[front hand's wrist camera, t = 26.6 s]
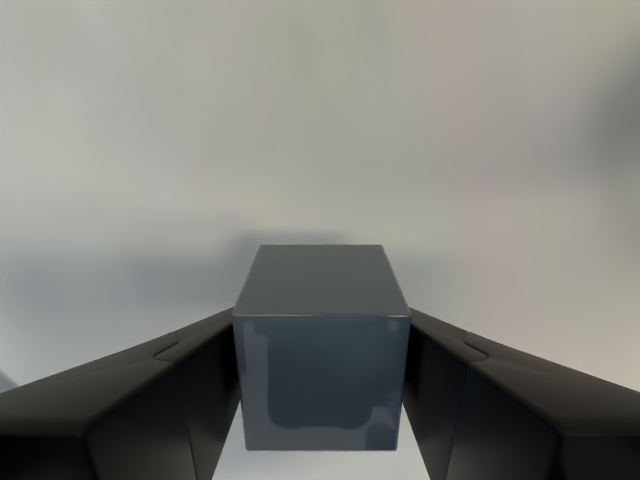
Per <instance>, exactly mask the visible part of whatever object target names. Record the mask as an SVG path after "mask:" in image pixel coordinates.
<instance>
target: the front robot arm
mask: <svg viewBox="0 0 640 480" xmlns="http://www.w3.org/2000/svg"><path fill="white" fill-rule="evenodd" d="M234 308H235V306H234V307H232V308H229V309H227V310H225V311H222V312H220V313H217V314H215V315H213V316H210V317H208V318H205V319H203V320H201V321H198V322H196V323H193V324H191V325H188V326H186V327H184V328H181V329H179V330H176V331H174V332H171V333H168V334H166V335H163V336H161V337H158V338H156V339H153V340H151V341H148V342H145V343H143V344H140V345H137V346H134V347H132V348H129V349H126V350H123V351H120V352H117V353H114V354H112V355H109V356H106V357H103V358H100V359H97V360H94V361H92V362H89V363H86V364H83V365H80V366H77V367H74V368H71V369H69V370H66V371H63V372H60V373H57V374H54V375H51V376H49V377H46V378H43V379H40V380H37V381H34V382H31V383H29V384H26V385H23V386H20V387H17V388H14V389H11V390H9V391H6V392H3V393H0V480H212V477H213V475H214V472H215V469H216V466H217V463H218V461H219V458H220V455H221V452H222V449H223V447H224V444H225V441H226V438H227V435H228V433H229V430H230V427H231V424H232V421H233V418H234V416H235V413H236V410H237V407H238V404H239V402H240V391H239V382H238V372H237V363H236V354H235V344H234V335H233V326H232V317H231V315H232V313H233V310H234ZM408 308H409V310H410V312H411V315H412V318H411V327H410V336H409V345H408V354H407V363H406V372H405V381H404V390H403V399H402V402H403V405H404V408H405V411H406V413H407V416H408V419H409V422H410V425H411V427H412V430H413V433H414V436H415V438H416V441H417V444H418V447H419V449H420V452H421V455H422V458H423V461H424V463H425V466H426V469H427V472H428V474H429V477H430V480H640V392H638V391H635V390H632V389H629V388H626V387H623V386H620V385H617V384H615V383H612V382H609V381H606V380H603V379H600V378H597V377H594V376H592V375H589V374H586V373H583V372H580V371H577V370H574V369H571V368H568V367H566V366H563V365H560V364H557V363H554V362H551V361H548V360H545V359H543V358H540V357H537V356H534V355H531V354H528V353H525V352H522V351H519V350H517V349H514V348H511V347H508V346H505V345H503V344H500V343H497V342H494V341H492V340H489V339H487V338H484V337H481V336H479V335H476V334H474V333H472V332H468V331H466V330H463V329H461V328H458V327H456V326H453V325H451V324H449V323H446V322H444V321H441V320H439V319H436V318H434V317H432V316H429V315H427V314H424V313H422V312H419V311H417V310H415V309H412V308H410V307H408Z"/></svg>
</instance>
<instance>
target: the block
mask: <svg viewBox="0 0 640 480" xmlns="http://www.w3.org/2000/svg"><path fill="white" fill-rule="evenodd" d="M231 317H232V326H233V335H234V344H235V354H236V363H237V372H238V382H239V391H240V400H241V409H242V419H243V428H244V437H245V447H246V450H247V451H249V452H279V451H396V450H397V444H398V435H399V426H400V417H401V408H402V399H403V390H404V381H405V372H406V363H407V354H408V345H409V336H410V327H411V318H412V315H411V312H410V310H409V308H408V305H407V303H406V300H405V298H404V296H403V293H402V291H401V289H400V286H399V284H398V282H397V279H396V277H395V275H394V272H393V270H392V268H391V265H390V263H389V261H388V258H387V256H386V253H385V251H384V249H383V246H382V245H260V247H259V249H258V251H257V254H256V256H255V259H254V261H253V264H252V266H251V269H250V271H249V273H248V276H247V278H246V281H245V283H244V286H243V288H242V291H241V293H240V295H239V298H238V300H237V303H236V305H235V308H234V310H233V313H232V315H231Z"/></svg>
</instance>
